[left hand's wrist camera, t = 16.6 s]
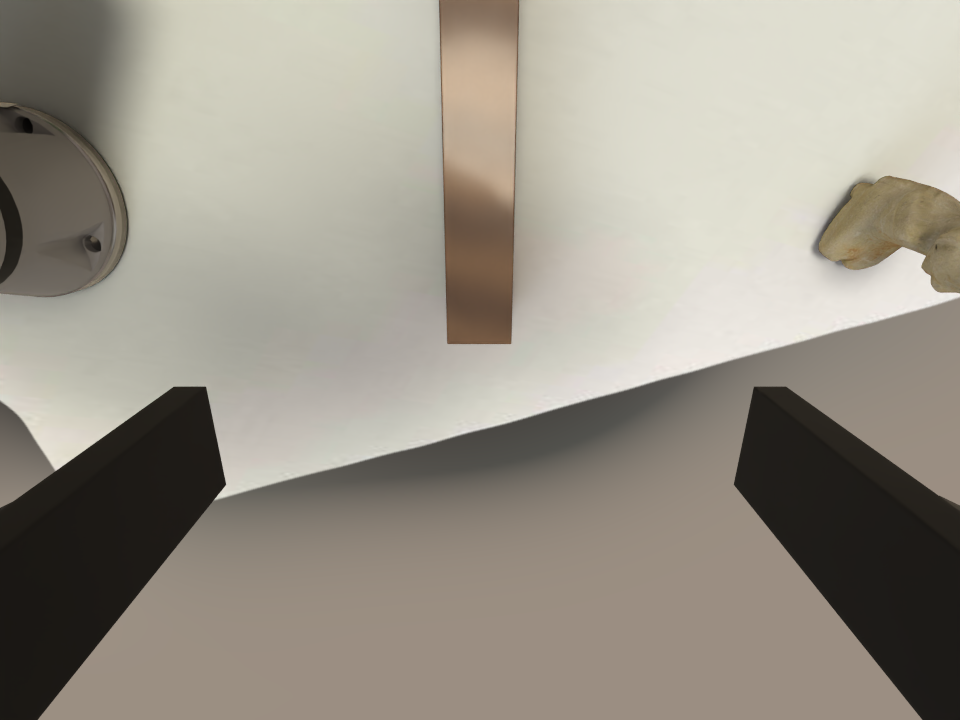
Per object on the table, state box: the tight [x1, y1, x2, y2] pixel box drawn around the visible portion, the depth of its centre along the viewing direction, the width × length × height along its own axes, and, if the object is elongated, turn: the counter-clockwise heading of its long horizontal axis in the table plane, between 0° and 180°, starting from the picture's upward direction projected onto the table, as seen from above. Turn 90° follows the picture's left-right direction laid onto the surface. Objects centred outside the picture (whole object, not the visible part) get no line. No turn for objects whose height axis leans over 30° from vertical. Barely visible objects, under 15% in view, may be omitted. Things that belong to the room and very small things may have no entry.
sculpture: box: [819, 176, 960, 293], centre depth 37 cm, size 6×7×15 cm
